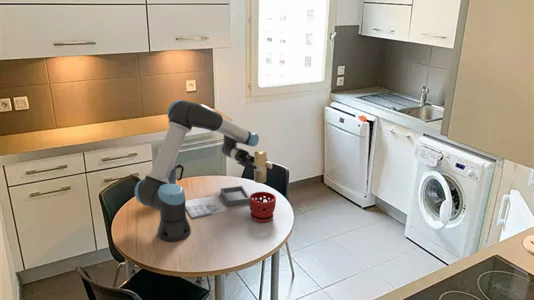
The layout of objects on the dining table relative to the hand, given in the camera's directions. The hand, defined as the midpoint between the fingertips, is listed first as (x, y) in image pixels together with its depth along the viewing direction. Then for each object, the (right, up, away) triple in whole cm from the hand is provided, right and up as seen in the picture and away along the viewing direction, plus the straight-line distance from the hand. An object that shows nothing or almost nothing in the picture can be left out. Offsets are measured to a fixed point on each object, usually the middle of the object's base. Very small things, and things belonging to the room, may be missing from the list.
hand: (266, 167), depth 220 cm
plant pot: (-2, -25, -7) cm, 26 cm away
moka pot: (-53, -16, +15) cm, 57 cm away
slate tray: (-17, -17, +13) cm, 28 cm away
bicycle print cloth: (-32, -22, +3) cm, 39 cm away
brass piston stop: (-3, -7, +7) cm, 10 cm away
